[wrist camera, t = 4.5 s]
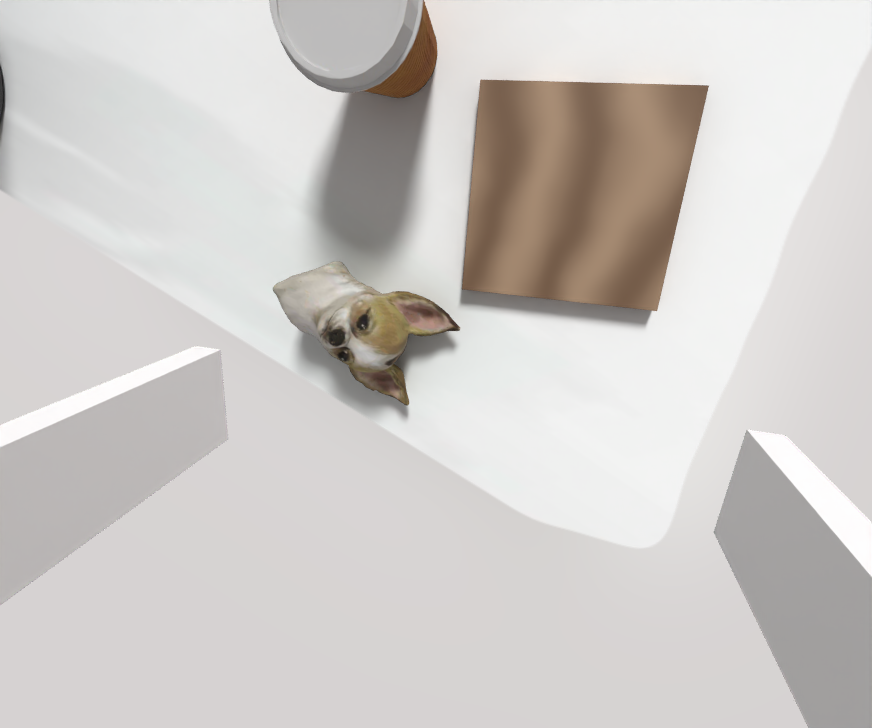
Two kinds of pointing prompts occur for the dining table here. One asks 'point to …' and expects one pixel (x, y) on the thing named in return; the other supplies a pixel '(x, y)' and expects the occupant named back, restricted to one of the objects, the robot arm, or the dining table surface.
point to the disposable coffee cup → (359, 43)
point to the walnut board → (578, 188)
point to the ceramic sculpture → (360, 322)
